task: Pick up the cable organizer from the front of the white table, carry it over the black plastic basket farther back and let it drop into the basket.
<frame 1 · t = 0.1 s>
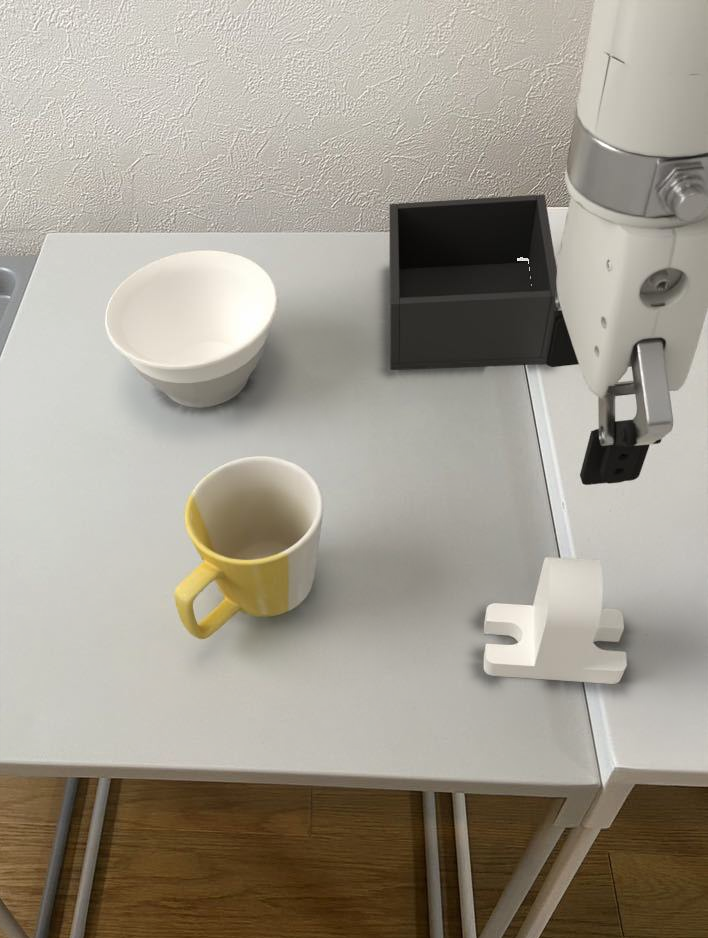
hand: (588, 417, 56), 20 cm above the table, tool pointing down, fingers open, 9 cm apart
bowl: (206, 377, 92), on the table
cable organizer: (550, 650, 71), on the table
basket: (464, 315, 92), on the table
mug: (252, 598, 77), on the table
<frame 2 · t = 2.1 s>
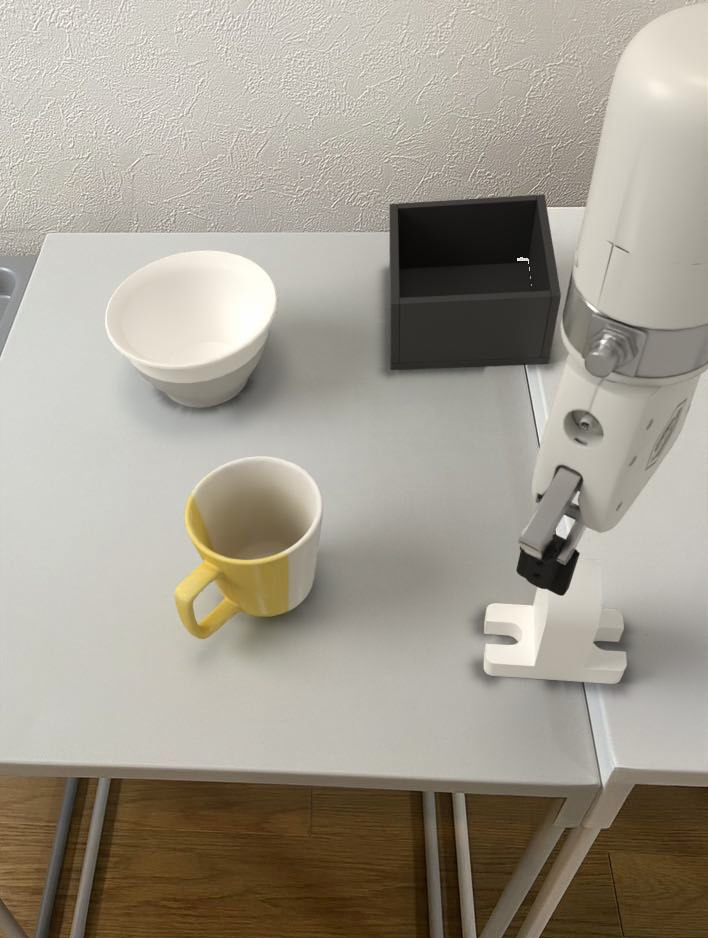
hand: (580, 528, 58), 15 cm above the table, tool pointing down, fingers open, 9 cm apart
nothing on the table moved.
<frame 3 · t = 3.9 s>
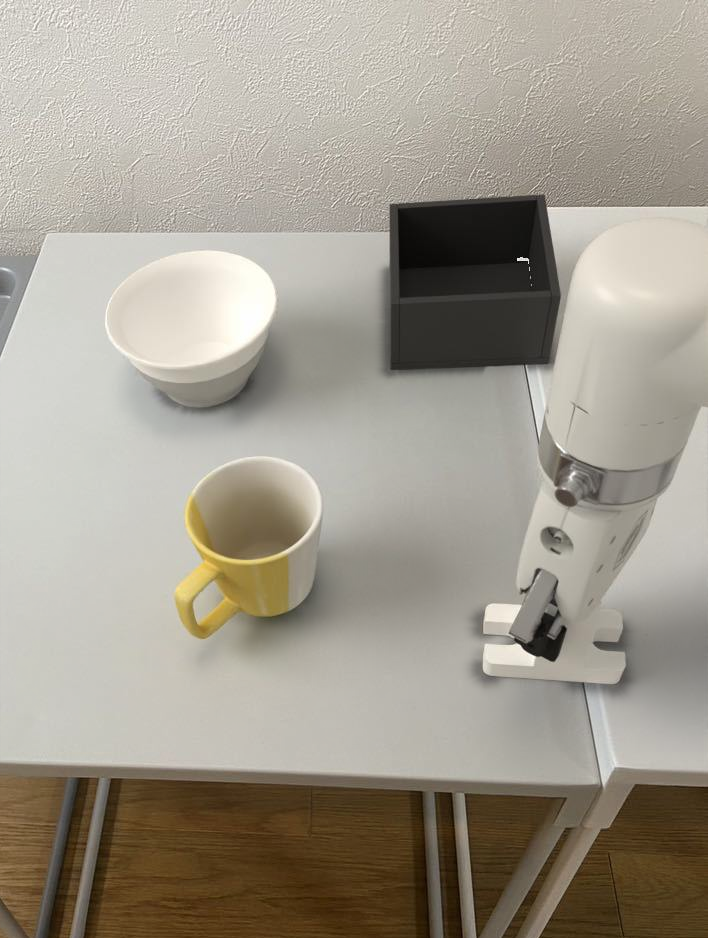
hand: (560, 612, 66), 5 cm above the table, tool pointing down, fingers closed on cable organizer, 6 cm apart
cable organizer: (549, 650, 71), on the table, touching gripper
everything else where it was.
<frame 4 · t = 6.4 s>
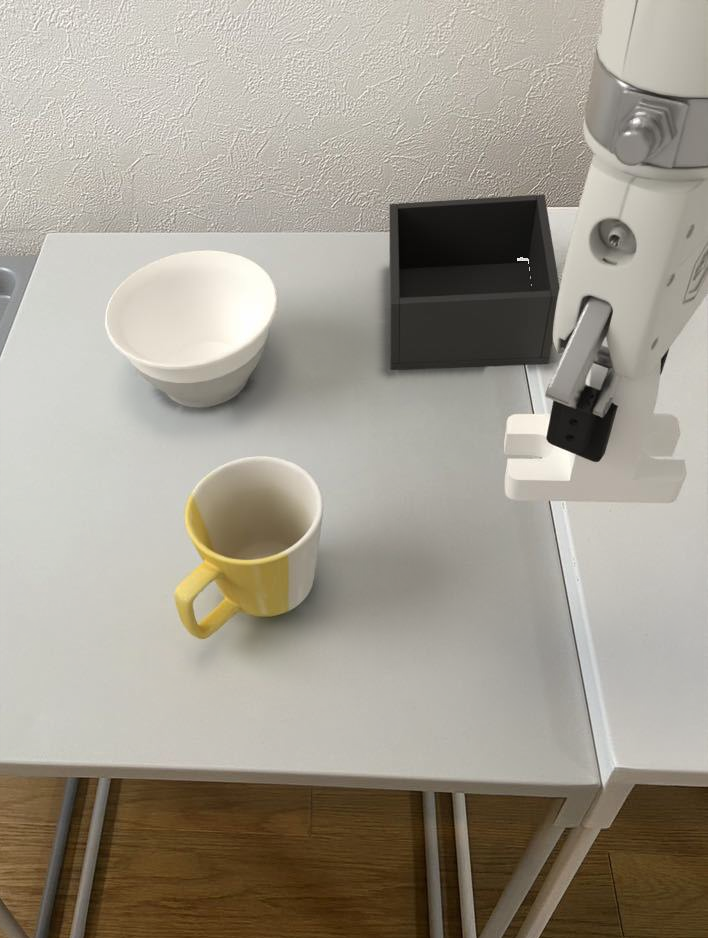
hand: (604, 407, 53), 23 cm above the table, tool pointing down, fingers closed on cable organizer, 6 cm apart
cable organizer: (587, 470, 57), point 18 cm above the table, touching gripper
everything else where it was.
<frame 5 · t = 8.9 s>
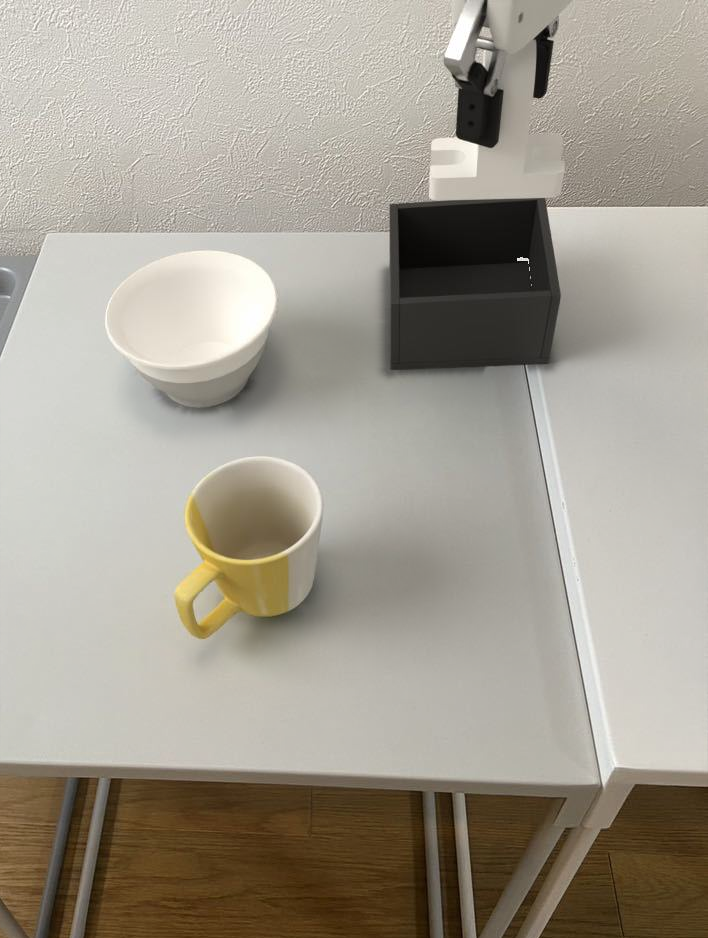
hand: (501, 114, 69), 24 cm above the table, tool pointing down, fingers closed on cable organizer, 6 cm apart
cable organizer: (493, 180, 73), point 18 cm above the table, touching gripper
everything else where it was.
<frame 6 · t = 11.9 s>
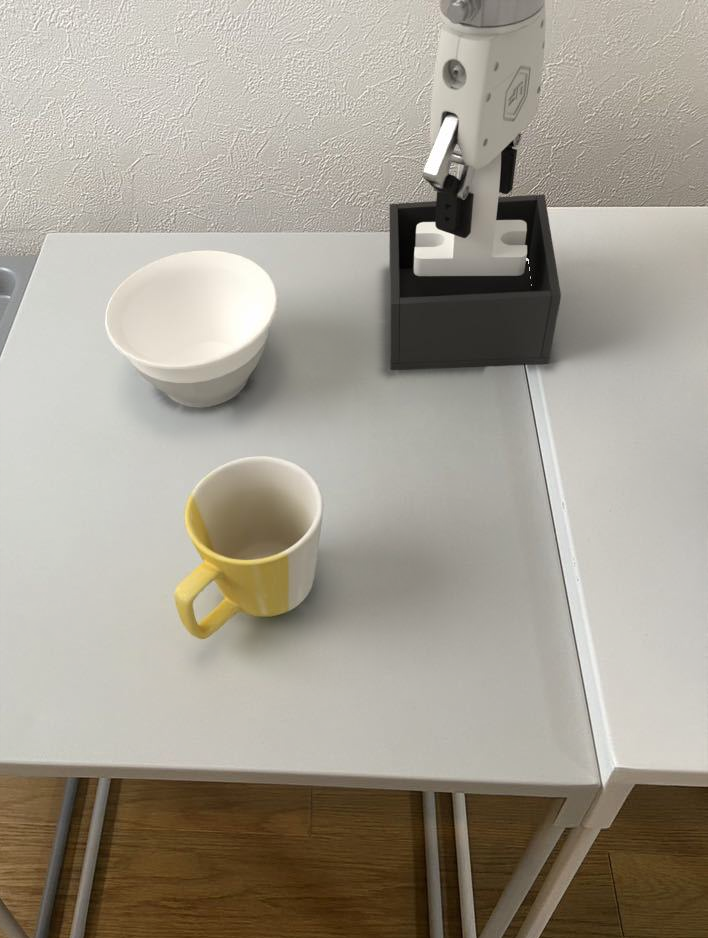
hand: (474, 208, 82), 12 cm above the table, tool pointing down, fingers closed on cable organizer, 6 cm apart
cable organizer: (468, 259, 86), point 7 cm above the table, touching gripper
everything else where it was.
when the fingers open (6 cm above the table, at t = 14.0 s): cable organizer stays where it is, resting on basket.
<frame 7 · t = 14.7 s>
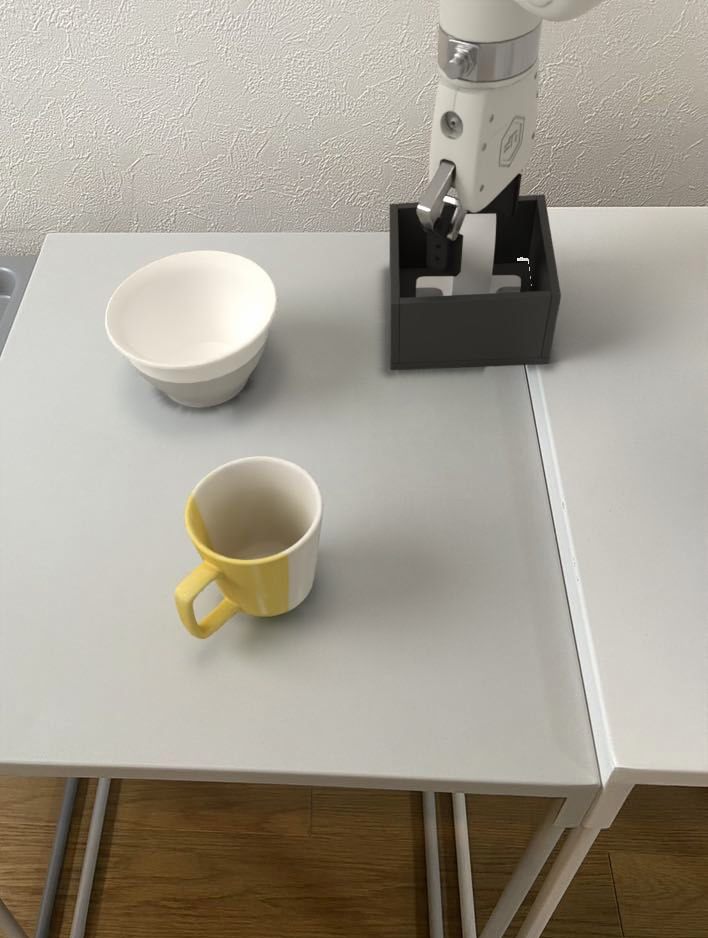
hand: (472, 240, 85), 9 cm above the table, tool pointing down, fingers open, 9 cm apart
cable organizer: (466, 311, 91), point 1 cm above the table, touching basket
everything else where it was.
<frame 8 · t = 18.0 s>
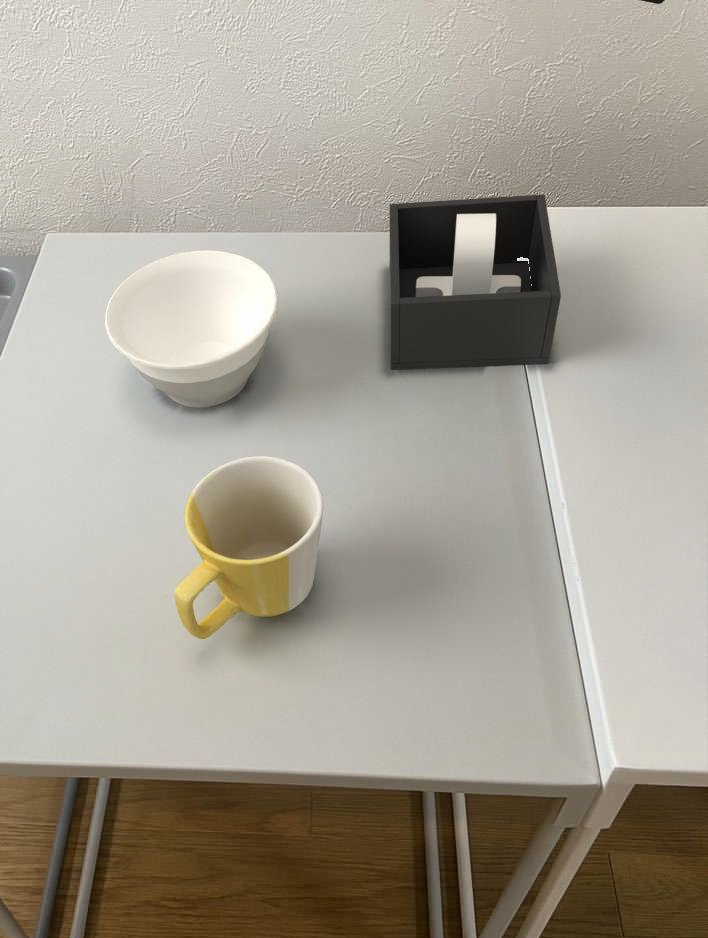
nothing on the table moved.
at the end: cable organizer inside the target area in the basket (0.2 cm from its centre), point 0.6 cm above the basket's base; the gripper is holding nothing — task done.
